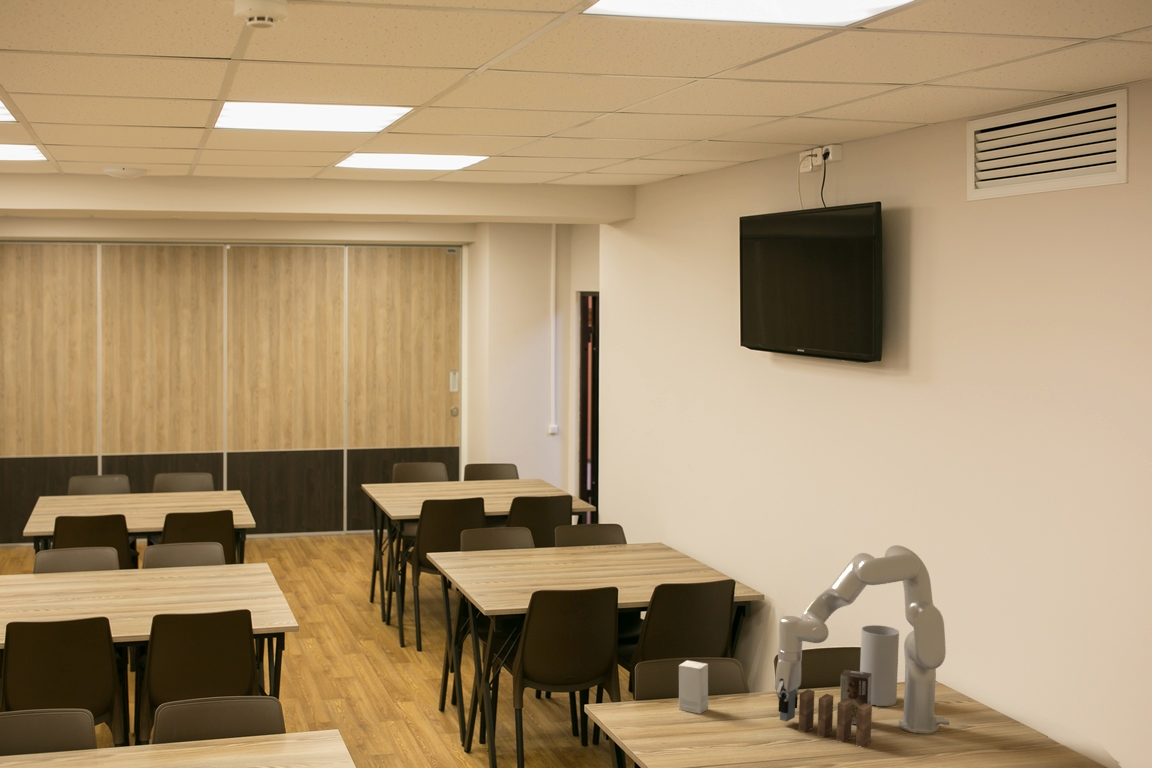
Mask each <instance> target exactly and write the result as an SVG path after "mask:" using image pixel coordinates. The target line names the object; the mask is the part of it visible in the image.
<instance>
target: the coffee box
mask: <svg viewBox="0 0 1152 768" xmlns="http://www.w3.org/2000/svg"><path fill="white" fill-rule="evenodd" d="M844 699H849V700H853V701H852V725H853V724H857V708H858V707H860V706H861V705H863V704H864V703H866V704H870V705H871V673H866V672H860V670H859V671H858V670H853V669H852V670H851V669H844V670H843V672H841V674H840V701H842V700H844ZM840 701H839V702H840Z"/></svg>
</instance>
